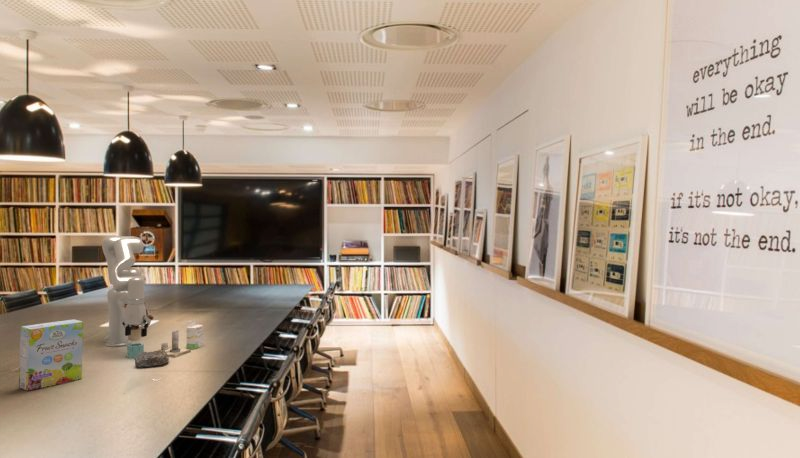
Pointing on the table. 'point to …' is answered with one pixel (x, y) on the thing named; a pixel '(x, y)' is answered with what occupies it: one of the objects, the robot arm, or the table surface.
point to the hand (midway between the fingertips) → (135, 335)
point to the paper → (156, 379)
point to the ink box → (194, 335)
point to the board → (174, 346)
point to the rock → (151, 358)
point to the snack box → (50, 354)
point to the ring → (134, 350)
